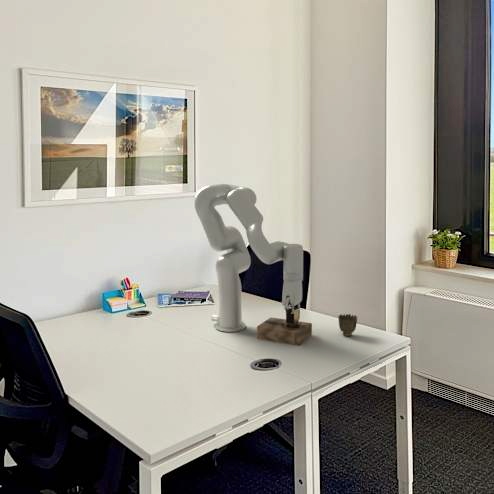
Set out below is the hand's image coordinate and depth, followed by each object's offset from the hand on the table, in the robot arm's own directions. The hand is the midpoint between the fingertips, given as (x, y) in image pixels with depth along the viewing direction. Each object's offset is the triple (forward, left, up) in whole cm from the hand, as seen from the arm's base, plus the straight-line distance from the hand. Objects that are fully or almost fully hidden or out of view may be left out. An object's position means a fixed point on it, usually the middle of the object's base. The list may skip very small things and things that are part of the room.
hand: (292, 320), depth 220 cm
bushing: (0, 0, -2) cm, 2 cm away
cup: (+19, +12, -7) cm, 23 cm away
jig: (-3, 0, -7) cm, 8 cm away
